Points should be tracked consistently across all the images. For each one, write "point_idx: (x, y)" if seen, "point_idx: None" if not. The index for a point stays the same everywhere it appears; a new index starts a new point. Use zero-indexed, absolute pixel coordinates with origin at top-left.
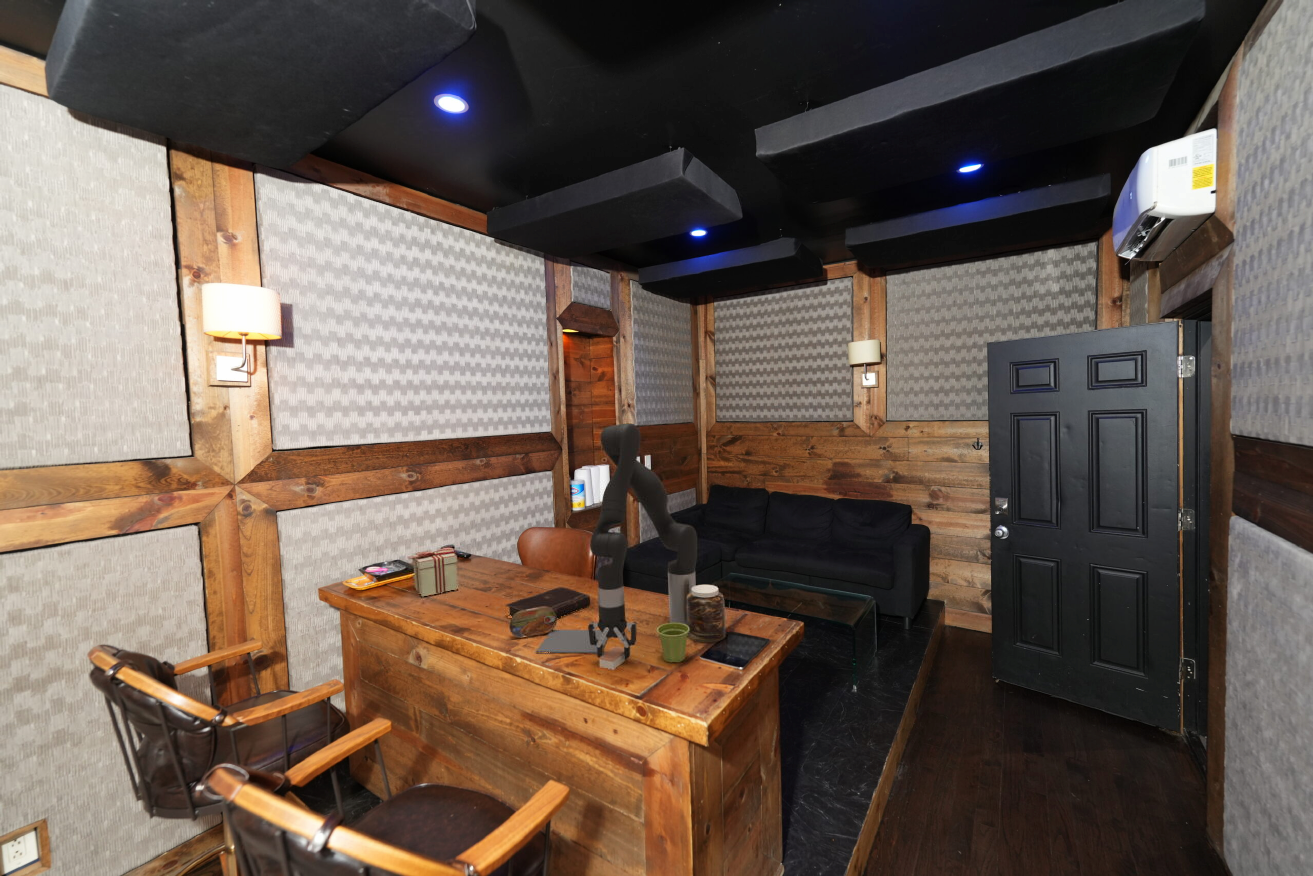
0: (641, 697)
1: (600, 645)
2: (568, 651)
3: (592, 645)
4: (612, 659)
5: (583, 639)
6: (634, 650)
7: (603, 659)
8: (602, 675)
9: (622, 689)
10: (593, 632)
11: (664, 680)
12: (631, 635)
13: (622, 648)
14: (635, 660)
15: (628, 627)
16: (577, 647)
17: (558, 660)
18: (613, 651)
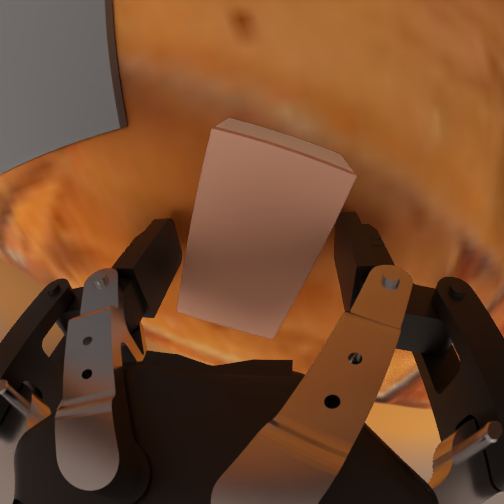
0: (386, 400)
1: (142, 335)
2: (1, 170)
3: (48, 63)
4: (267, 331)
5: (3, 32)
6: (362, 35)
7: (206, 316)
8: (238, 334)
9: None
10: (48, 394)
11: None
12: (439, 414)
13: (304, 170)
14: (392, 189)
15: (432, 484)
16: (6, 119)
17: (17, 229)
18: (236, 230)
